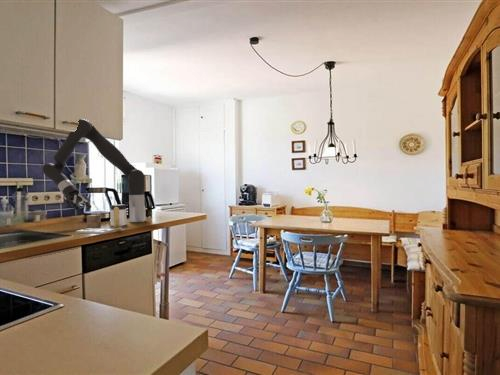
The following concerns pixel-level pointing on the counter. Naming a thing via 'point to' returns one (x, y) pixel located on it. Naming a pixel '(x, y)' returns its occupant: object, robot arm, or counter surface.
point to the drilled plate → (95, 231)
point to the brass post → (116, 219)
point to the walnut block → (93, 221)
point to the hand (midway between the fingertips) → (84, 208)
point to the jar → (121, 214)
